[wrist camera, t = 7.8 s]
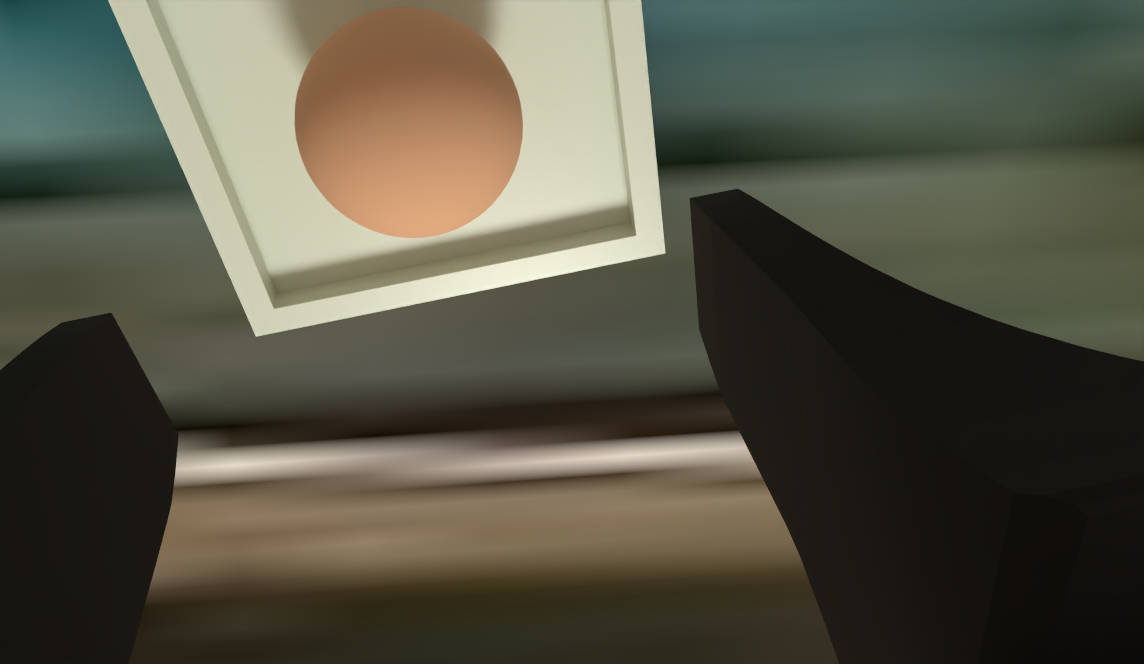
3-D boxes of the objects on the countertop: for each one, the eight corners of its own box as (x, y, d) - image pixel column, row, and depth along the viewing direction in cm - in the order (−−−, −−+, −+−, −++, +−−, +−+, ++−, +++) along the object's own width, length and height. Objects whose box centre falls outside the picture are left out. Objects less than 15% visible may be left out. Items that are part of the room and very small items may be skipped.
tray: (609, -225, 16) (620, -220, 15) (656, 233, 21) (665, 252, 21) (72, -127, 16) (57, -117, 15) (260, 313, 21) (255, 336, 20)
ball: (489, -40, 17) (513, 31, 14) (525, 156, 19) (553, 254, 16) (273, 0, 17) (247, 80, 14) (336, 194, 19) (326, 300, 16)
